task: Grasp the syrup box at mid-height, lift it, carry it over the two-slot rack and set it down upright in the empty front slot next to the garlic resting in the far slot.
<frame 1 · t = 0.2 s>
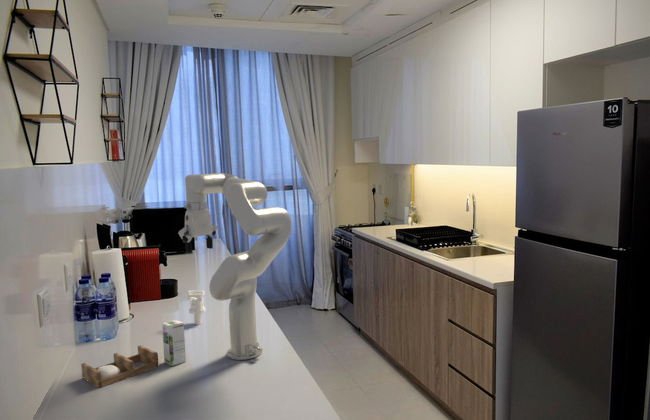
hand: (199, 250, 199), 36 cm above the countertop, tool pointing down, fingers open, 9 cm apart
rack: (124, 371, 176), on the countertop
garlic: (108, 378, 172), resting in rack
white slotted cylinder: (198, 323, 225), on the countertop
syrup box: (175, 362, 182), on the countertop
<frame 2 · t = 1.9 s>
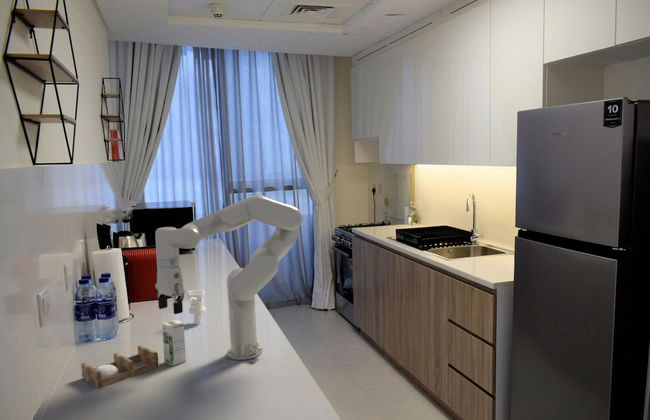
hand: (170, 310, 180), 19 cm above the countertop, tool pointing down, fingers open, 9 cm apart
nothing on the countertop moved.
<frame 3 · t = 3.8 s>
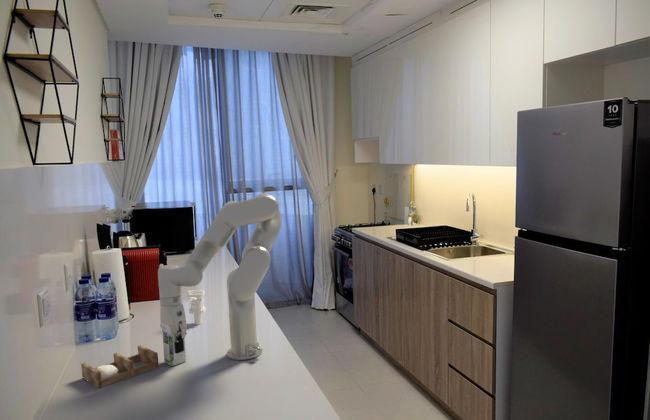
hand: (174, 349, 182), 5 cm above the countertop, tool pointing down, fingers closed on syrup box, 5 cm apart
syrup box: (175, 362, 182), on the countertop, touching gripper
everything else where it was.
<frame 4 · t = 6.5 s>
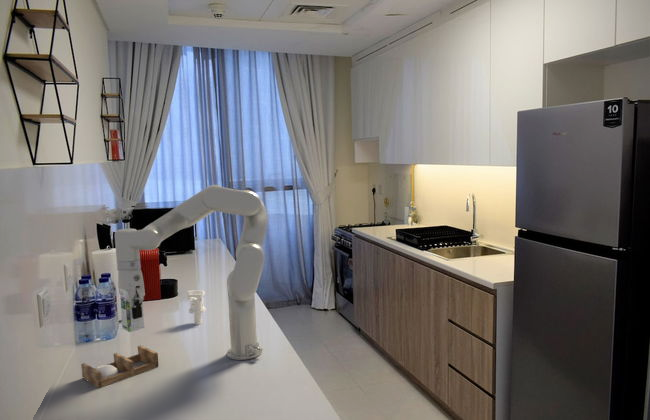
hand: (132, 315, 177), 18 cm above the countertop, tool pointing down, fingers closed on syrup box, 5 cm apart
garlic: (106, 377, 172), resting in rack
syrup box: (133, 329, 177), point 14 cm above the countertop, touching gripper
everything else where it was.
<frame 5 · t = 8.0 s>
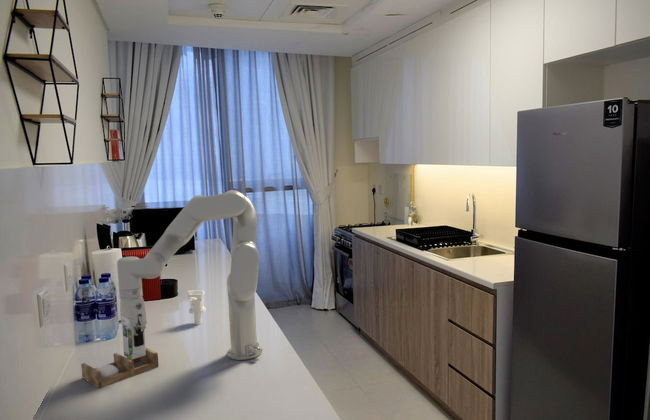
hand: (134, 343, 178), 9 cm above the countertop, tool pointing down, fingers closed on syrup box, 5 cm apart
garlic: (106, 377, 172), resting in rack
syrup box: (135, 356, 178), point 4 cm above the countertop, touching gripper
everything else where it was.
when the fingers open (5 cm above the countertop, at t = 9.2 s): syrup box stays where it is, resting in rack.
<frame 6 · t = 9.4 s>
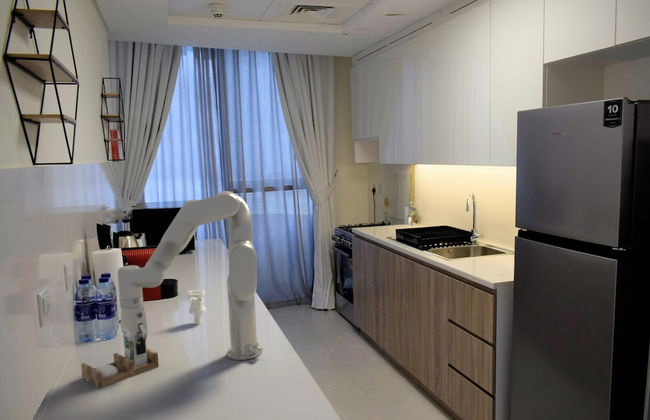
hand: (135, 350, 178), 6 cm above the countertop, tool pointing down, fingers open, 7 cm apart
syrup box: (136, 367, 179), resting in rack
everything else where it was.
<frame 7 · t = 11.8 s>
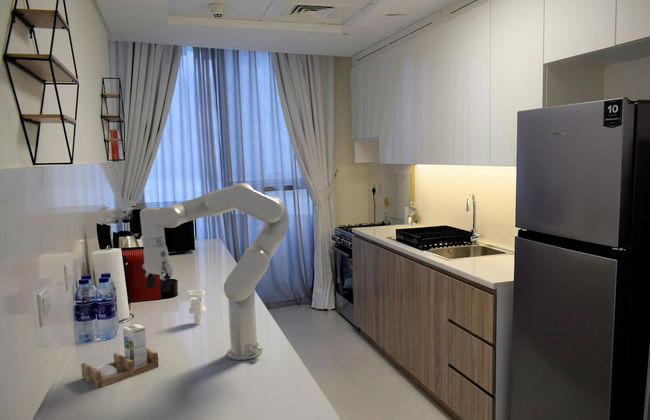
hand: (159, 289, 184), 26 cm above the countertop, tool pointing down, fingers open, 9 cm apart
nothing on the countertop moved.
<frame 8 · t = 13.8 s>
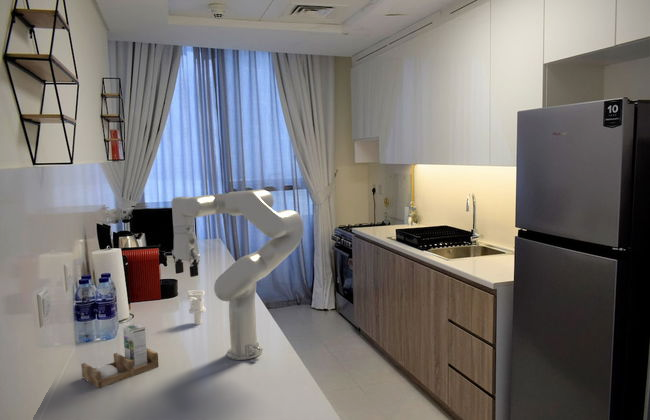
hand: (186, 274, 194), 28 cm above the countertop, tool pointing down, fingers open, 9 cm apart
nothing on the countertop moved.
at the end: syrup box inside the target area on the rack (0.1 cm from its centre), point 0.0 cm above the rack's base; syrup box tilted 0°; the gripper is holding nothing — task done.
